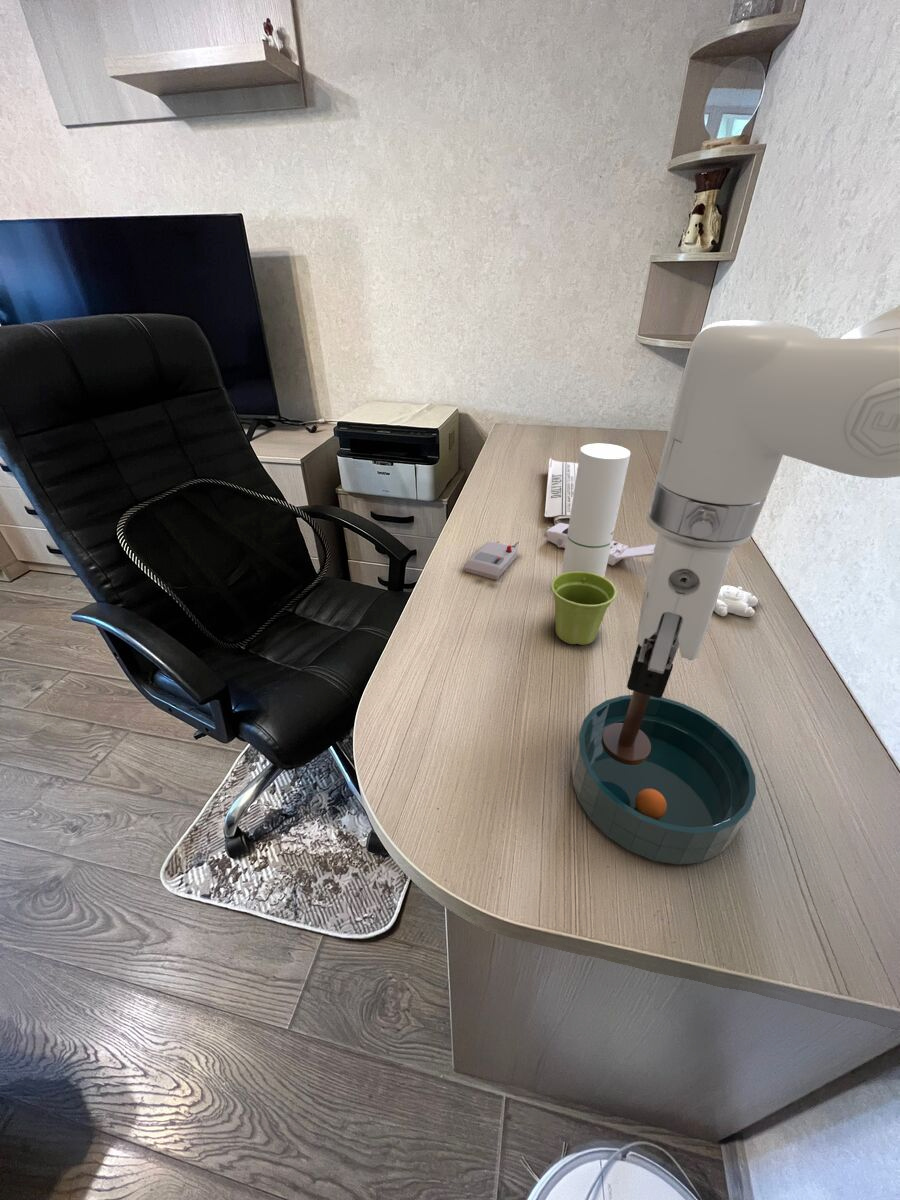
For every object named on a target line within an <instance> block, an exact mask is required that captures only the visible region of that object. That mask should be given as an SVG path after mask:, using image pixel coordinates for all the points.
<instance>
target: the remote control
mask: <svg viewBox="0 0 900 1200" xmlns="http://www.w3.org/2000/svg"><path fill="white" fill-rule="evenodd" d="M519 543H520V541H516V543H514V544H513V545H508V544H503V543H500V541H497V542H495V541H486V542H485V543H484V544H483V545H482V546H481V547H480V548H479V549H478V550H476V552H475V553H474V554H473V555H472V556H471V557H470V558H469V559H468V560H467V562H466V564H465V566H464V572H466V573H469V574H472V575H476V576H480V577H484V578H487V579H491V580H495V581H497V580H499V578H500V577H501V576H502V574H503V573H504V572H505V571H506V570H507V569H508V567H510V565H511V564H512V563H513V562H514V560H515V559H516V558H517V557H518V556H517V555H518V549H517V548H516V547H518V544H519Z"/></svg>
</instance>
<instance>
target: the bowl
mask: <svg viewBox="0 0 900 1200" xmlns="http://www.w3.org/2000/svg"><path fill="white" fill-rule="evenodd" d="M632 695H633V694H624V695H619V696H617V697H613V698H610V699H606V700H604V701H603V702H601V703H599V704H598V705H596V706H595V707H593V708H592V709H591V711H590V712H588V714H587V715H586V716H585V718H584V719H583V721H582V724H581V726H580V730H579V733H578V736H577V737H578V738H577V741H576V746H575V752H574V755H573V759H572V763H571V779H572V785H573V788H574V791H575V795H576V797H577V800H578V803H579V804H580V806H581V807H582V809H583V811H584V813H585V814H586V815H587V816H588V818H589V820H590V821H591V822H592V823H593V824H594V825H595V826H596V827H597V828H598V830H600V831H601V832H602V833H603V834H604V835H605V836H606V837H608V838H609V839H610V840H612V841H613V842H615V843H616V844H618V845H619V846H621V847H622V848H624V849H626V850H627V851H629V852H631V853H634V854H636V855H639V856H640V857H643V858H646V859H648V860H651V861H654V862H661V863H666V864H672V865H690V864H699V863H704V862H705V861H707V860H710V859H712V858H715V857H716V856H719V855H720V854H721V853H722V852H723V851H725V849H726V848H727V847H728V846H729V845H730V844H731V843H732V842H733V840H734V838H735V837H736V836H737V833H738V832H739V830H740V829H741V826H742V825H743V823H744V822H745V820H746V818H747V817H748V815H749V813H750V812H751V809H752V806H753V804H754V801H755V799H756V796H757V786H756V785H757V784H756V774H755V772H754V769H753V766H752V764H751V762H750V758H749V757H748V755H747V753H746V752H745V751H744V750H743V748H742V747H741V745H740V744H739V742H738V740H736V739H735V738H734V737H733V736H732V735H731V734H730V733H729V732H728V731H727V730H726V729H725V728H724V727H723V726H722V725H721V724H719V723H718V722H717V721H715V720H713V719H712V718H711V717H709V716H708V715H706V714H705V713H703V712H701V711H700V710H697V709H696V708H694V707H691V706H689V705H688V704H685V703H683V702H680V701H676V700H673V699H670V698H666V697H663V696H662V697H661V698H656V697H653V696H650V699H649V702H648V705H647V708H646V711H645V714H644V717H643V720H642V723H641V726H640V728H639V729H640V730H641V731H642V732H644V733H645V734H646V736H647V737H648V739H649V741H650V743H651V751H650V754H649V757H648V758H647V760H645V761H644V762H643V763H640V764H637V765H627V764H623V763H620V762H618V761H616V760H614V759H613V758H611V757H610V756H609V755H608V754H607V753H606V752H605V750H604V749H603V746H602V743H601V739H602V734H603V732H604V730H605V729H606V728H607V727H608V726H609V725H611V724H615V723H624V720H625V717H626V714H627V711H628V707H629V704H630V701H631V698H632ZM644 789H654V790H657V791H658V792H660V793H661V794H662V795H663V797H664V798H665V800H666V804H667V809H666V812H665V814H664V815H663V816H662V817H661V818H659V819H657V820H655V819H653V818H650V817H647V816H645V815H642V814H641V813H639V812H638V810H637V808H636V803H635V801H636V797H637V795H638V793H639V792H640V791H642V790H644Z"/></svg>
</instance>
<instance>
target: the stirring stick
mask: <svg viewBox="0 0 900 1200" xmlns="http://www.w3.org/2000/svg"><path fill="white" fill-rule="evenodd" d="M653 647H654V645H652V644H649V648H652V649H653ZM649 648H648V649H649ZM632 691H633V690H632ZM631 695H632V698H631V701H630V704H629V707H628V711H627V714H626V717H625V720H624V723H615V724H611V725H609V726H608V727H607V728H606V729H605V730H604V732H603V734H602V739H601V743H602V746H603V749H604V750H605V752H606V753H607V754H608V755H609V756H610V757H611V758H613V759H614V760H616V761H618V762H620V763H623V764H627V765H637V764H640V763H643V762H644V761H645V760H647V758H648V757H649V754H650V751H651V743H650V741H649V739H648V737H647V736H646V734H645V733H644V732H642V731H641V730H640V729H639V728H640V726H641V723H642V720H643V717H644V714H645V711H646V708H647V705H648V702H649V699H650V696H649V695H646V694H643V693H639V692H636V691H633V692H632V694H631Z"/></svg>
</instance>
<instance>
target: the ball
mask: <svg viewBox="0 0 900 1200" xmlns="http://www.w3.org/2000/svg"><path fill="white" fill-rule="evenodd" d="M635 803H636V808H637V810H638V812H639V813H641V814H642V815H645V816H647V817H650V818H653V819H655V820H657V819H659V818H661V817H662V816H663V815H664V814H665V812H666V809H667V804H666V800H665V798H664V797H663V795H662V794H661V793H660V792H658V791H657V790H654V789H644V790H642V791H640V792H639V793H638V795H637V797H636V801H635Z"/></svg>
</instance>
